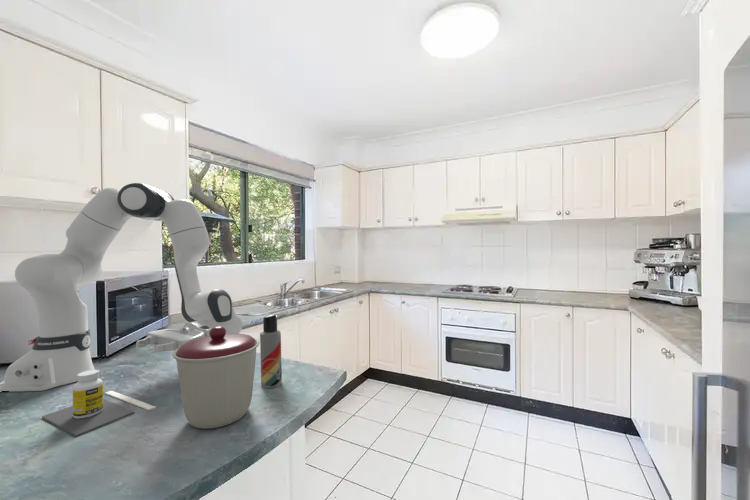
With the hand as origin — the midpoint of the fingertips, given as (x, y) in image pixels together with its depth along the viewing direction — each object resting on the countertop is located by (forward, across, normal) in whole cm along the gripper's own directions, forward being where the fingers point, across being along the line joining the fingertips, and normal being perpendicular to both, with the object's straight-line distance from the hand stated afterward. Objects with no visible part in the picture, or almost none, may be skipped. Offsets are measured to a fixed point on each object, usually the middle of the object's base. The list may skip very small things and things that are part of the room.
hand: (146, 346), depth 90 cm
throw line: (+5, +2, +13) cm, 14 cm away
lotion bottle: (-19, +29, +12) cm, 36 cm away
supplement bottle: (+13, +2, +12) cm, 18 cm away
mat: (+13, +2, +13) cm, 19 cm away
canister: (0, +31, +12) cm, 34 cm away
